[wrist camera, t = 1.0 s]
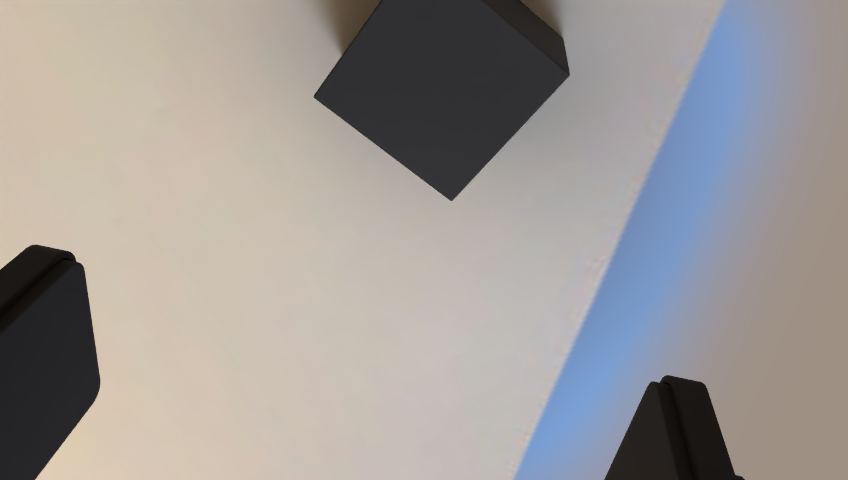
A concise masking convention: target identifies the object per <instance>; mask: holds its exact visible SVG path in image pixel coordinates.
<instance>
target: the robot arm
mask: <svg viewBox="0 0 848 480" xmlns="http://www.w3.org/2000/svg"><path fill="white" fill-rule="evenodd" d="M99 388H100V375H99V368H98V361H97V354H96V347H95V340H94V333H93V326H92V319H91V312H90V305H89V298H88V292H87V285H86V278H85V271H84V267H83V265H82V264H81V263H78V262H76V259H75V256H74V255H73V254H72V253H71V252H69V251H64V250H60V249H55V248H50V247H45V246H40V245H31V246H29V247H28V248H26V249H25V250H24V251H22V252H21V253H20V254H19V255H18V256H16V257H15V258H14V259H13V260H12V261H10V262H9V263H8V264H7V265H6V266H4V267H3V268H2V269H1V270H0V480H35V479H36V478H37V476H38V475H39V474H40V472H41V471H42V470H43V468H44V467H45V466H46V464H47V463H48V462H49V461H50V459H51V458H52V457H53V455H54V454H55V453H56V451H57V450H58V449H59V447H60V446H61V445H62V443H63V442H64V441H65V439H66V438H67V437H68V436H69V434H70V433H71V432H72V430H73V429H74V428H75V426H76V425H77V424H78V422H79V421H80V420H81V418H82V417H83V416H84V414H85V413H86V412H87V411H88V409H89V408H90V407H91V405H92V404H93V402H94V401H95V399H96V397H97V395H98V392H99ZM604 480H745V479H743V477H741V476H737V475H735V473H734V470H733V467H732V464H731V461H730V458H729V455H728V452H727V448H726V445H725V442H724V439H723V436H722V433H721V430H720V427H719V424H718V421H717V418H716V415H715V412H714V409H713V406H712V403H711V399H710V397H709V393H708V390H707V388H706V386H705V385H704V384H703V383H702V382H697V381H693V380H688V379H684V378H679V377H673V376H669V375H667V376H664V377H663V378H662V380H661V381H660V383H658V382H651V383H650V384H649V385H648V387H647V389H646V391H645V393H644V395H643V397H642V400H641V402H640V404H639V406H638V408H637V410H636V413H635V415H634V417H633V419H632V421H631V424H630V426H629V428H628V430H627V432H626V434H625V436H624V439H623V441H622V443H621V445H620V447H619V449H618V451H617V454H616V456H615V458H614V460H613V463H612V464H611V467H610V469H609V471H608V473H607V475H606V477H605V479H604Z"/></svg>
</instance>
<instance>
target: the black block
mask: <svg viewBox="0 0 848 480" xmlns="http://www.w3.org/2000/svg"><path fill="white" fill-rule="evenodd" d="M569 75H570V73H569V67H568V62H567V57H566V51H565V46H564V40H563V38H562V37H561V36H560V35H558V34H557V33H556V32H555V31H554V30H553V29H552V28H550V27H549V26H548V25H547V24H546V23H545V22H544V21H542V20H541V19H540V18H539V17H538V16H537V15H535V14H534V13H533V12H532V11H531V10H530V9H529V8H527V7H526V6H525V5H524V4H523V3H522V2H520V1H519V0H381V1H380V3H379V4H378V6H377V7H376V9H375V10H374V11H373V13H372V14H371V16H370V17H369V18H368V20H367V21H366V23H365V24H364V25H363V27H362V28H361V30H360V31H359V33H358V34H357V35H356V37H355V38H354V40H353V41H352V42H351V44H350V45H349V47H348V48H347V50H346V51H345V52H344V54H343V55H342V57H341V58H340V59H339V61H338V62H337V64H336V65H335V67H334V68H333V69H332V71H331V72H330V74H329V75H328V76H327V78H326V79H325V81H324V82H323V83H322V85H321V86H320V88H319V89H318V91H317V92H316V93H315V95H314V98H315V99H316V100H318V101H319V102H320V103H322V104H323V105H324V106H326V107H327V108H328V109H330V110H331V111H332V112H334V113H335V114H336V115H338V116H339V117H340V118H342V119H343V120H344V121H346V122H347V123H348V124H350V125H351V126H352V127H354V128H355V129H356V130H358V131H359V132H360V133H362V134H363V135H364V136H365V137H367V138H368V139H369V140H371V141H372V142H373V143H375V144H376V145H377V146H379V147H380V148H381V149H383V150H384V151H385V152H387V153H388V154H389V155H391V156H392V157H393V158H395V159H396V160H397V161H399V162H400V163H401V164H403V165H404V166H405V167H407V168H408V169H409V170H411V171H412V172H413V173H414V174H416V175H417V176H418V177H420V178H421V179H422V180H424V181H425V182H426V183H428V184H429V185H430V186H432V187H433V188H434V189H436V190H437V191H438V192H440V193H441V194H442V195H444V196H445V197H446V198H448V199H449V200H450V201H452V200H453V199H454V198H455V197H456V196H457V195H458V194H459V193H460V192H461V191H462V190H463V189H464V188H465V187H466V186H467V185H468V183H469V182H470V181H471V180H472V179H473V178H474V177H475V176H476V175H477V174H478V173H479V172H480V171H481V170H482V168H483V167H484V166H485V165H486V164H487V163H488V162H489V161H490V160H491V159H492V158H493V157H494V156H495V155H496V154H497V152H498V151H499V150H500V149H501V148H502V147H503V146H504V145H505V144H506V143H507V142H508V141H509V140H510V139H511V138H512V136H513V135H514V134H515V133H516V132H517V131H518V130H519V129H520V128H521V127H522V126H523V125H524V124H525V123H526V121H527V120H528V119H529V118H530V117H531V116H532V115H533V114H534V113H535V112H536V111H537V110H538V109H539V108H540V107H541V105H542V104H543V103H544V102H545V101H546V100H547V99H548V98H549V97H550V96H551V95H552V94H553V93H554V92H555V91H556V89H557V88H558V87H559V86H560V85H561V84H562V83H563V82H564V81H565V80H566V79H567V78H568V77H569Z"/></svg>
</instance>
